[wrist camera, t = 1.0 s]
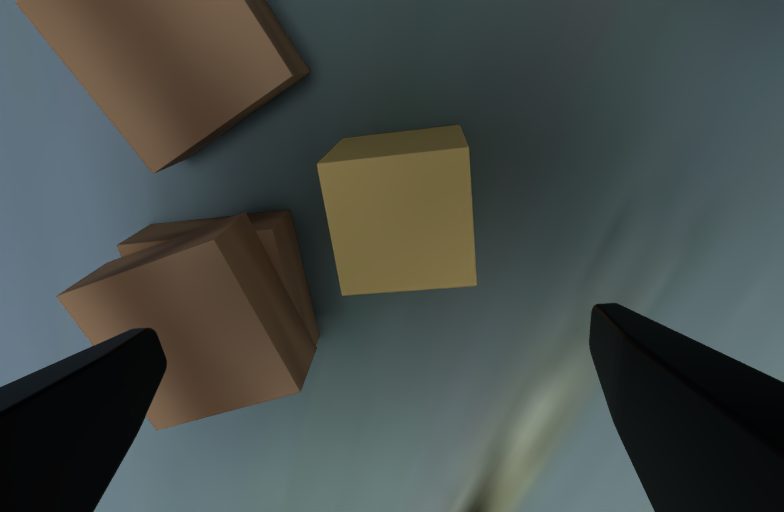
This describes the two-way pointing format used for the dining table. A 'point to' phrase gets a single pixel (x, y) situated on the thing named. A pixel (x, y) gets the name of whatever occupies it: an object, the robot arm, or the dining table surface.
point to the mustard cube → (400, 211)
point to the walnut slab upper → (202, 320)
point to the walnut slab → (171, 65)
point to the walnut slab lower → (273, 236)
